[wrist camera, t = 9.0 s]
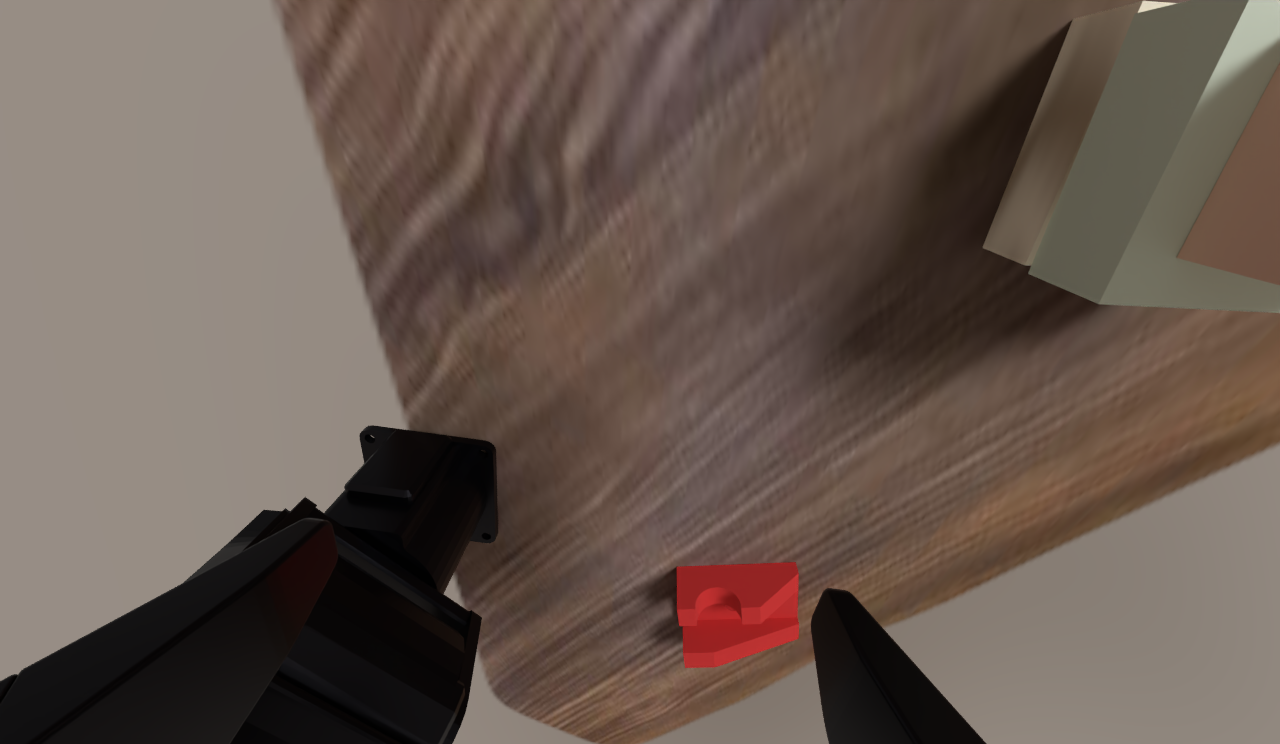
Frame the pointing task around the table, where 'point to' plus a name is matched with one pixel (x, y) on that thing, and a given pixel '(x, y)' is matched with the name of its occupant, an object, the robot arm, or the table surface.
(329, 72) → the table surface
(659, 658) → the table surface
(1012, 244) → the block
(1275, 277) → the tan block
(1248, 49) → the tower top
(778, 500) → the table surface
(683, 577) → the bracket
